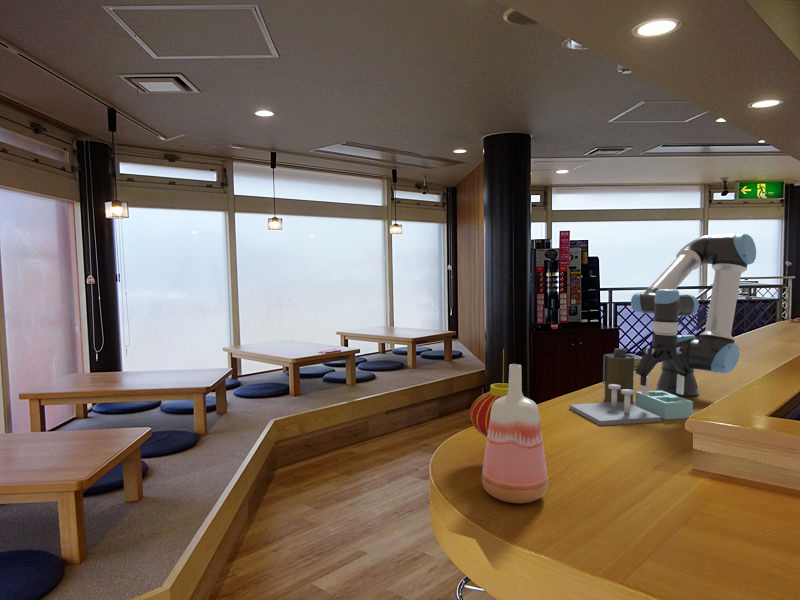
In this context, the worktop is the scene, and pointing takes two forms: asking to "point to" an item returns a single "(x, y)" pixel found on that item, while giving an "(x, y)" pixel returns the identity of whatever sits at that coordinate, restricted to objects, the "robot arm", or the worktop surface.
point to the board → (615, 410)
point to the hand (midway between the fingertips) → (662, 394)
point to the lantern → (487, 405)
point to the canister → (618, 373)
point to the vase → (514, 447)
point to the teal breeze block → (664, 404)
